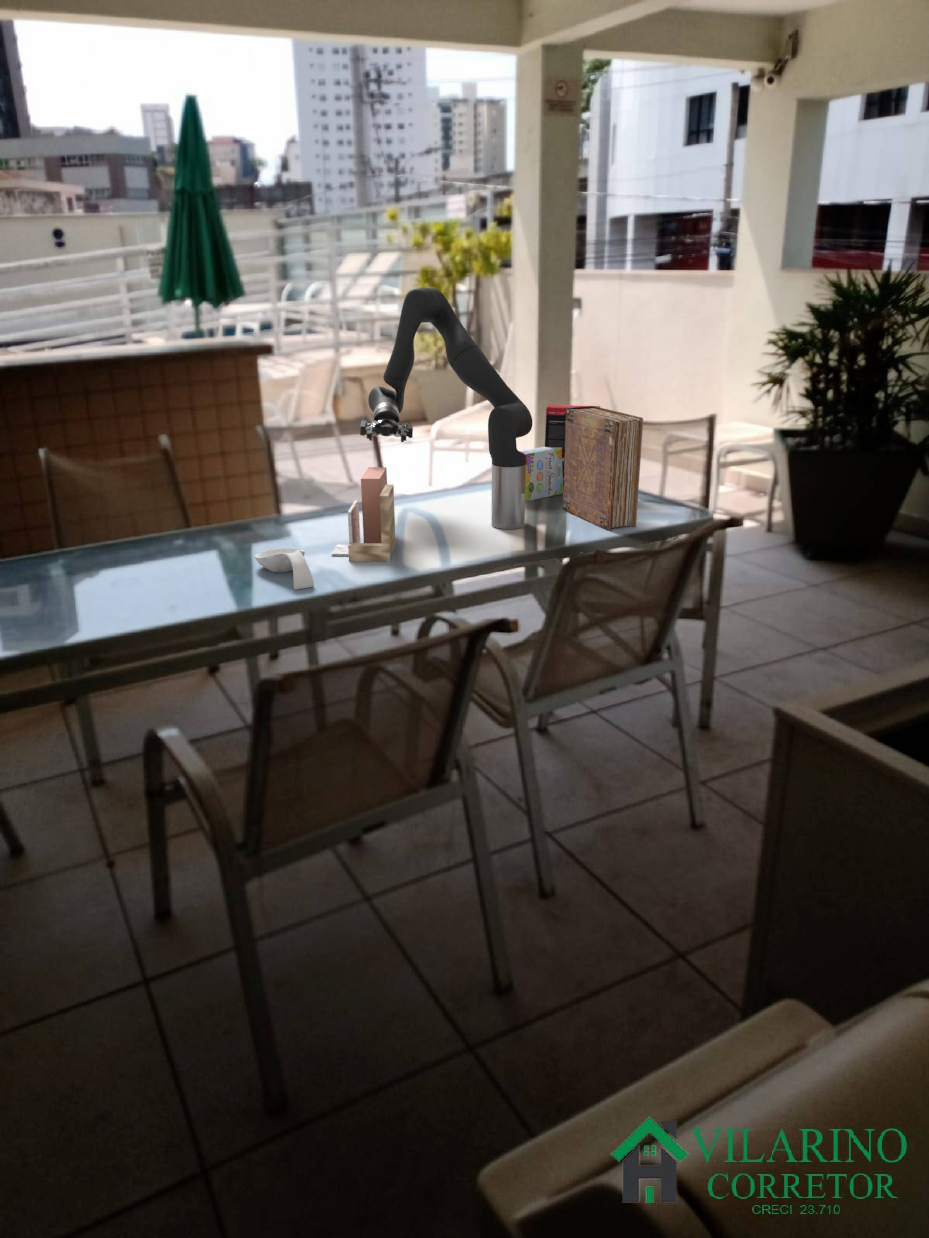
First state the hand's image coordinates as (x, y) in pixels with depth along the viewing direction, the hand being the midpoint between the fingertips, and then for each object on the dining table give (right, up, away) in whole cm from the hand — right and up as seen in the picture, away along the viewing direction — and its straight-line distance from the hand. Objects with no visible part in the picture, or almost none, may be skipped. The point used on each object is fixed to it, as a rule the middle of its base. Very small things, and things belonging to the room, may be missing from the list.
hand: (386, 438), depth 239 cm
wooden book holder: (-2, -32, -12) cm, 34 cm away
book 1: (-3, -27, -1) cm, 27 cm away
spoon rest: (-21, -38, -27) cm, 51 cm away
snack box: (+43, -10, +42) cm, 61 cm away
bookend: (-10, -31, -11) cm, 34 cm away
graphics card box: (+55, -8, +48) cm, 73 cm away
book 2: (+59, -20, +18) cm, 65 cm away
